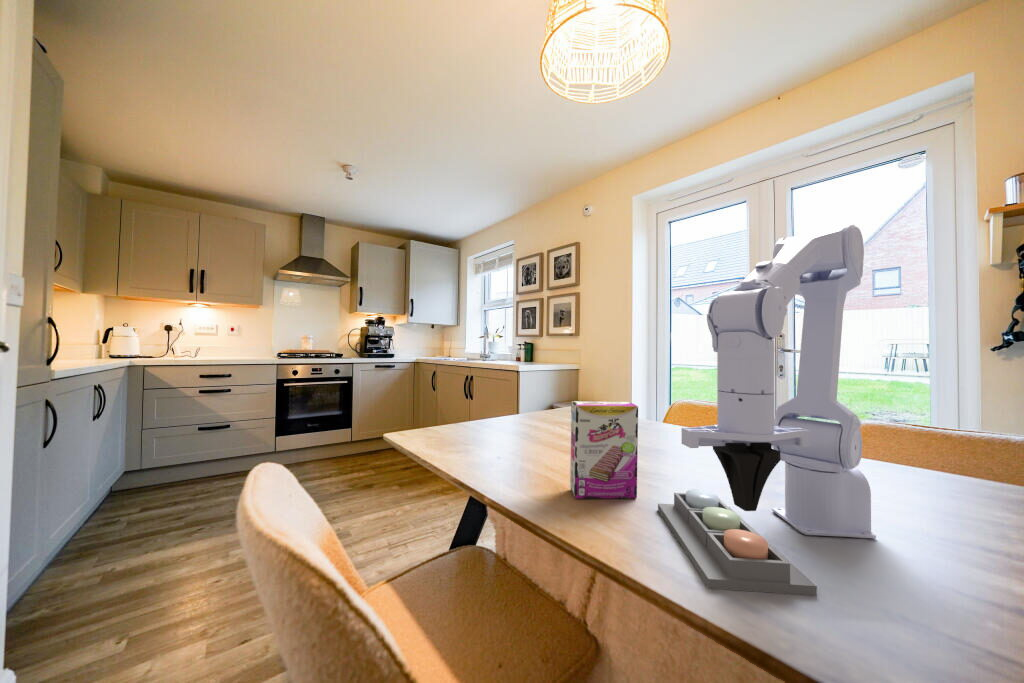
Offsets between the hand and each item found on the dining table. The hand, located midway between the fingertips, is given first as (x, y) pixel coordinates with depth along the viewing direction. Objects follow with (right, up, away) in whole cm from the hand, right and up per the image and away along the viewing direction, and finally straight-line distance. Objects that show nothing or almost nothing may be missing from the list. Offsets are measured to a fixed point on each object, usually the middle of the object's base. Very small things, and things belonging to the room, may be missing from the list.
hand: (744, 507), depth 44 cm
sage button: (+1, -6, +6) cm, 9 cm away
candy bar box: (-11, -8, +23) cm, 27 cm away
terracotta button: (0, -6, 0) cm, 6 cm away
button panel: (+1, -8, +6) cm, 10 cm away
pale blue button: (+1, -6, +13) cm, 14 cm away
